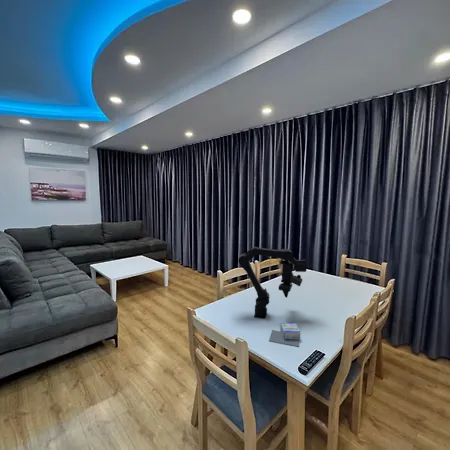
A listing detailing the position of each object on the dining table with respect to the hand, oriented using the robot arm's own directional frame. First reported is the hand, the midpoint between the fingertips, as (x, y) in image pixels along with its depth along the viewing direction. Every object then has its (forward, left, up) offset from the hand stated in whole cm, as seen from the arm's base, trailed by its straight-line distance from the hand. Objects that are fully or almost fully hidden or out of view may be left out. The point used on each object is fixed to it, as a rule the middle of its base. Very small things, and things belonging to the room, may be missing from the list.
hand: (286, 297), depth 140 cm
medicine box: (+2, -15, -10) cm, 18 cm away
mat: (+2, -22, -12) cm, 25 cm away
